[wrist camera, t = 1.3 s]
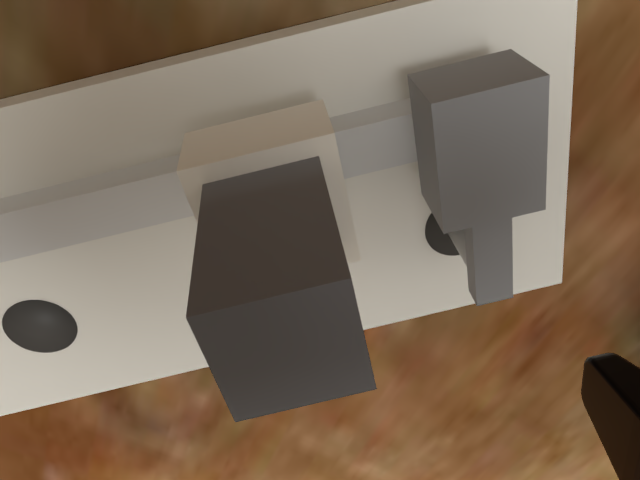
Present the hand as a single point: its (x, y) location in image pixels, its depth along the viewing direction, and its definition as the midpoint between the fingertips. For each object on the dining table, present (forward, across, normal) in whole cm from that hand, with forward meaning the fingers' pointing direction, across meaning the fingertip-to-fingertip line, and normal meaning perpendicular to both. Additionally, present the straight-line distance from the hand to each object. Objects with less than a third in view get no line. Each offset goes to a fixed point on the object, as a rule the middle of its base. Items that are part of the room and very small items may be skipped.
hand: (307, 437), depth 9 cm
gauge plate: (+12, +2, +3) cm, 12 cm away
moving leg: (+10, 0, +2) cm, 11 cm away
